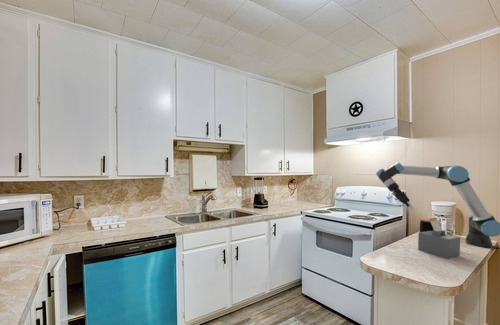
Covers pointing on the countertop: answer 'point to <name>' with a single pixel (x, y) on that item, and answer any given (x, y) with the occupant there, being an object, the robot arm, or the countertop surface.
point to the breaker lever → (435, 225)
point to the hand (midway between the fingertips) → (412, 209)
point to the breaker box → (439, 244)
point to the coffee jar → (425, 225)
